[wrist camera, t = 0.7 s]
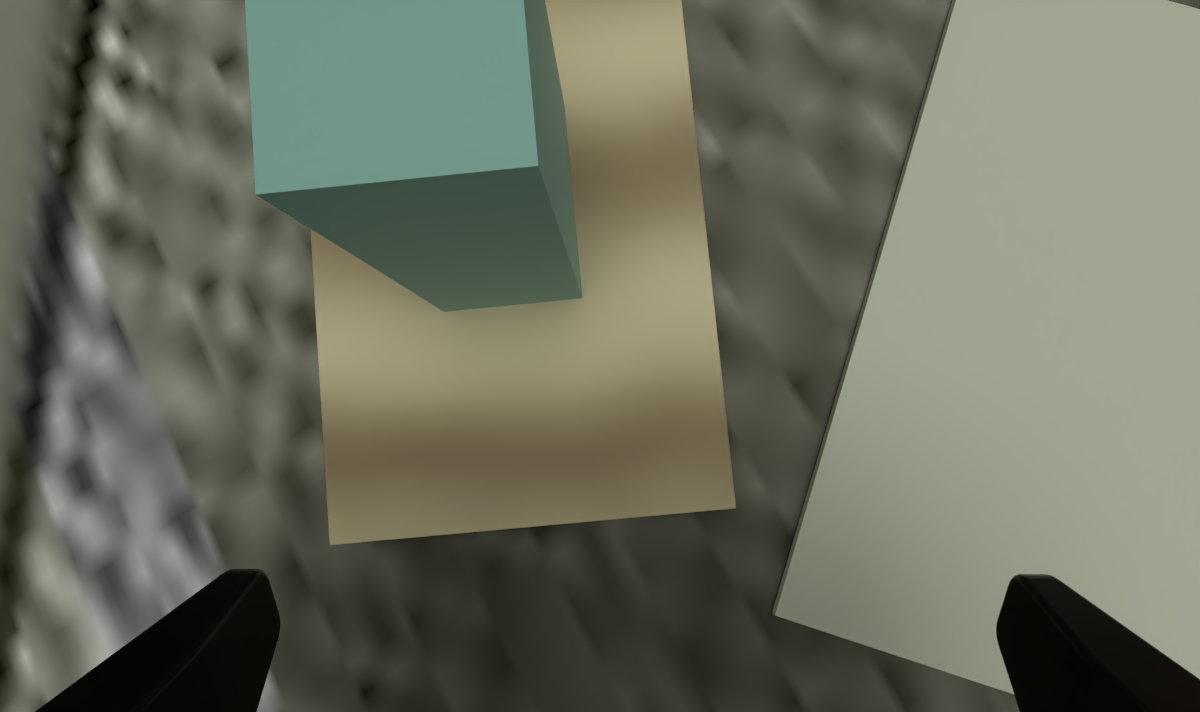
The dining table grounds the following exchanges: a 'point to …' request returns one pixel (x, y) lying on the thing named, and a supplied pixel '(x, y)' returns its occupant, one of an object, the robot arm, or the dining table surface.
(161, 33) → the dining table surface
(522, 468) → the plate
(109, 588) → the dining table surface
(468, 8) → the tall teal block
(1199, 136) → the mat
